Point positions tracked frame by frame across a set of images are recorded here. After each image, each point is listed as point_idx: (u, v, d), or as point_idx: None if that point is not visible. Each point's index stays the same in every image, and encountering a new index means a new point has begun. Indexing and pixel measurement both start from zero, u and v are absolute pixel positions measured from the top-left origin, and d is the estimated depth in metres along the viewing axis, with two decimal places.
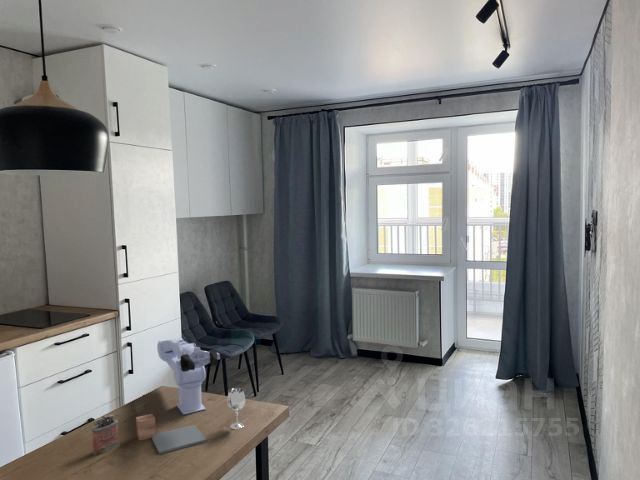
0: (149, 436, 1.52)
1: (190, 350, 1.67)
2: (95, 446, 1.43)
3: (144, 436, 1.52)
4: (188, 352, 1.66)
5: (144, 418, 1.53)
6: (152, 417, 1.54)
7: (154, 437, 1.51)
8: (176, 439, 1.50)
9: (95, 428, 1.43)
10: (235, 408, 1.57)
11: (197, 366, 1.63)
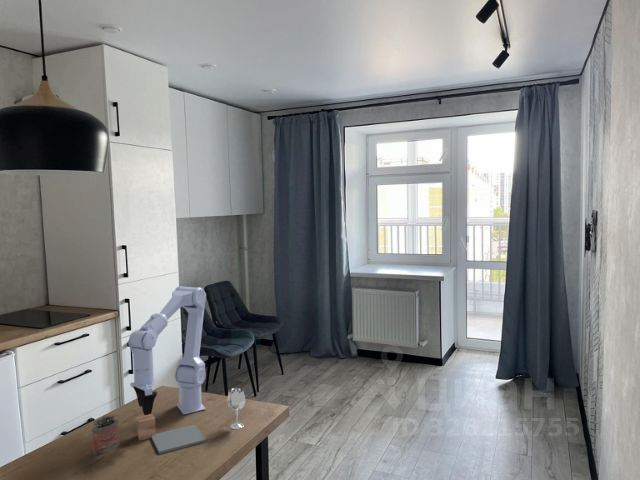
0: (149, 436, 1.52)
1: None
2: (95, 446, 1.43)
3: (144, 436, 1.52)
4: None
5: (144, 418, 1.53)
6: (152, 417, 1.54)
7: (154, 437, 1.51)
8: (176, 439, 1.50)
9: (95, 428, 1.43)
10: (235, 408, 1.57)
11: None
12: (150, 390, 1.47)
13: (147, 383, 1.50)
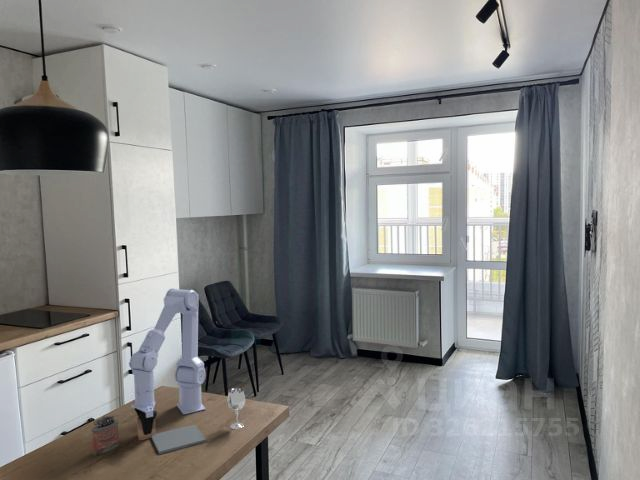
0: (149, 436, 1.52)
1: None
2: (95, 446, 1.43)
3: (144, 436, 1.52)
4: None
5: None
6: None
7: (154, 437, 1.51)
8: (176, 439, 1.50)
9: (95, 428, 1.43)
10: (235, 408, 1.57)
11: None
12: (151, 412, 1.47)
13: (148, 405, 1.51)
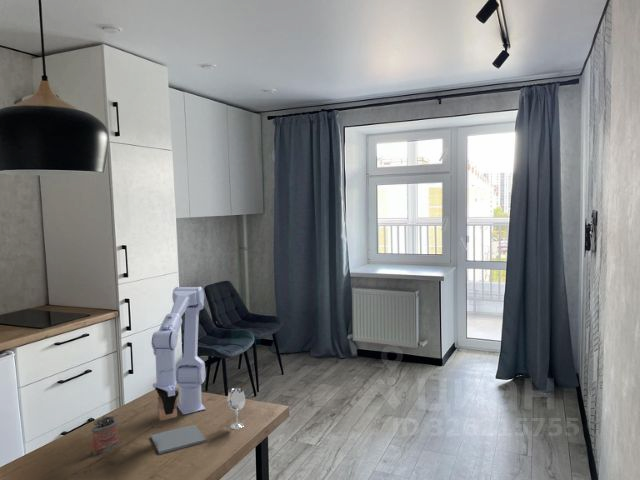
0: (170, 416, 1.50)
1: None
2: (95, 446, 1.43)
3: (165, 416, 1.49)
4: None
5: None
6: None
7: (154, 437, 1.51)
8: (176, 439, 1.50)
9: (95, 428, 1.43)
10: (235, 408, 1.57)
11: None
12: (173, 391, 1.45)
13: (170, 384, 1.48)
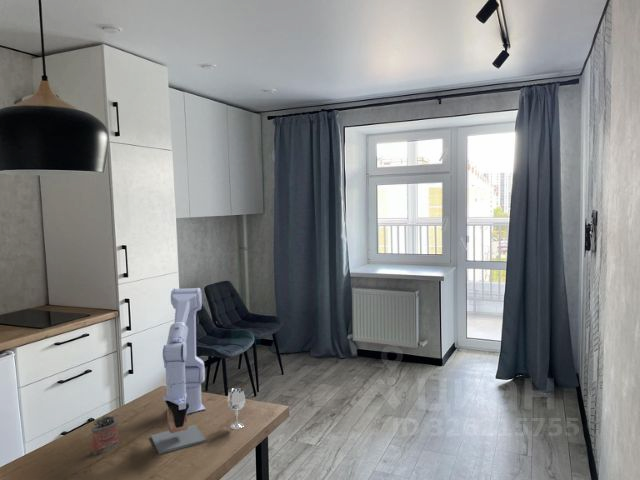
0: (181, 429, 1.49)
1: None
2: (95, 446, 1.43)
3: (176, 429, 1.49)
4: None
5: None
6: None
7: (154, 437, 1.51)
8: (176, 439, 1.50)
9: (95, 428, 1.43)
10: (235, 408, 1.57)
11: None
12: (184, 404, 1.44)
13: (180, 397, 1.48)
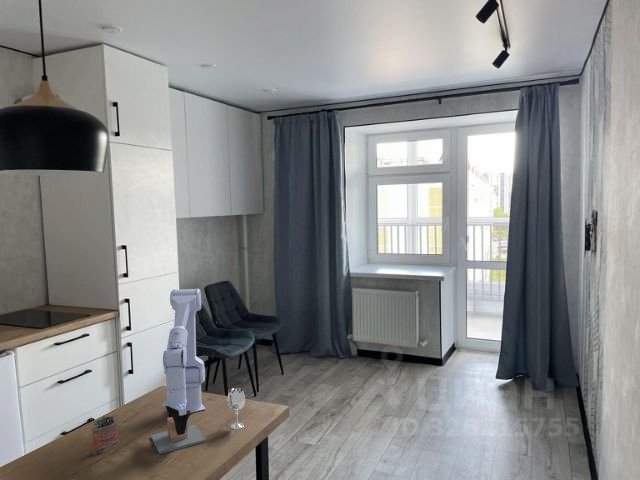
0: (181, 437, 1.50)
1: None
2: (95, 446, 1.43)
3: (176, 437, 1.49)
4: None
5: None
6: None
7: (154, 437, 1.51)
8: None
9: (95, 428, 1.43)
10: (235, 408, 1.57)
11: None
12: (184, 410, 1.44)
13: (180, 402, 1.48)
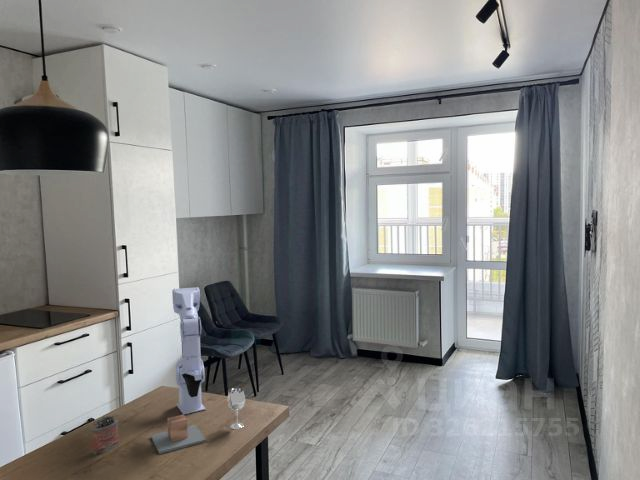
0: (181, 437, 1.50)
1: None
2: (95, 446, 1.43)
3: (176, 437, 1.49)
4: None
5: (176, 419, 1.50)
6: (184, 418, 1.51)
7: (154, 437, 1.51)
8: None
9: (95, 428, 1.43)
10: (235, 408, 1.57)
11: None
12: (200, 375, 1.53)
13: (196, 369, 1.57)
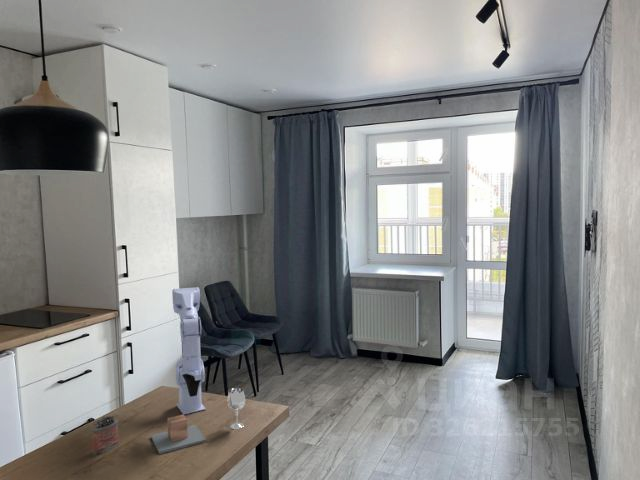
0: (181, 437, 1.50)
1: None
2: (95, 446, 1.43)
3: (176, 437, 1.49)
4: None
5: (176, 419, 1.50)
6: (184, 418, 1.51)
7: (154, 437, 1.51)
8: None
9: (95, 428, 1.43)
10: (235, 408, 1.57)
11: None
12: (200, 375, 1.53)
13: (196, 369, 1.57)
